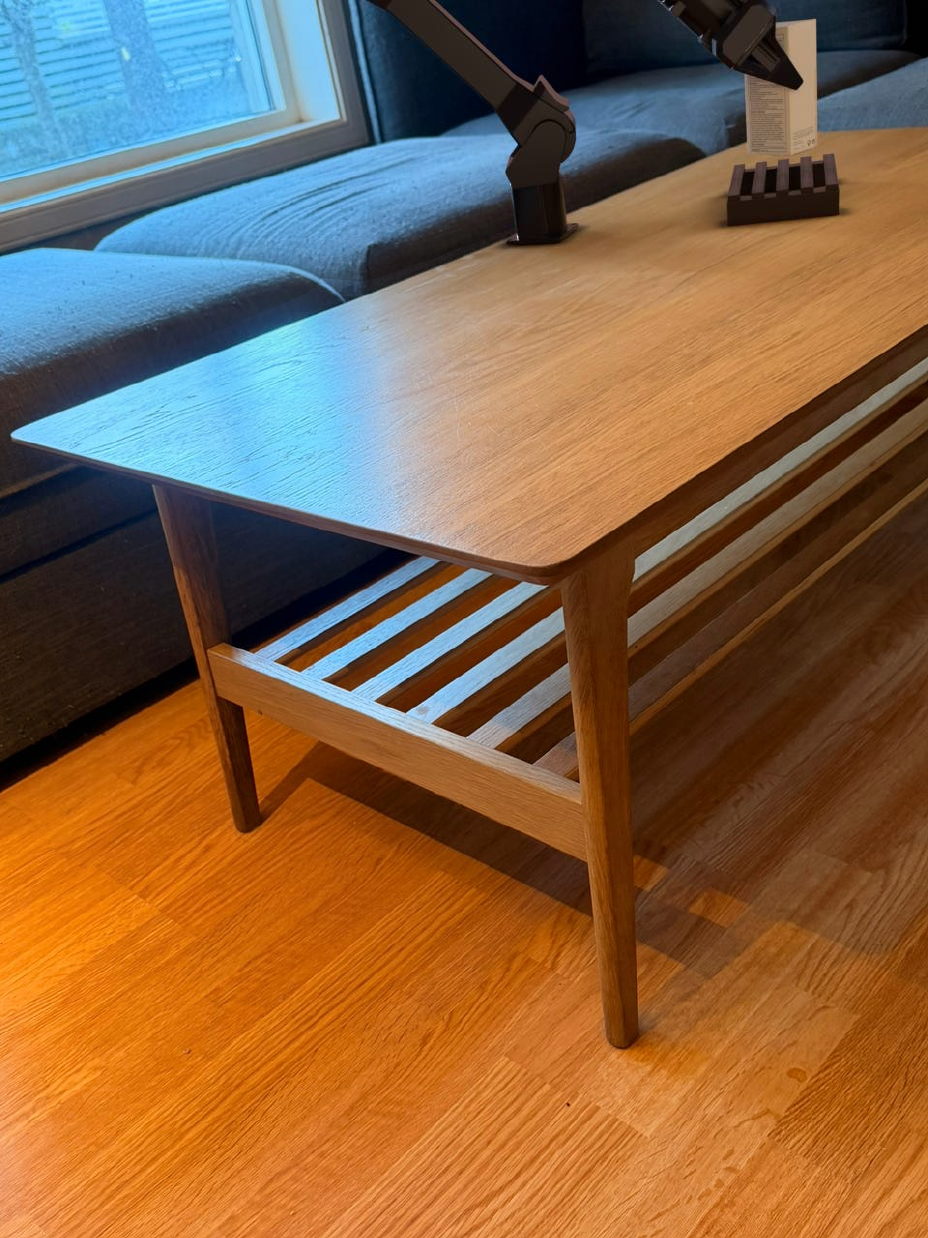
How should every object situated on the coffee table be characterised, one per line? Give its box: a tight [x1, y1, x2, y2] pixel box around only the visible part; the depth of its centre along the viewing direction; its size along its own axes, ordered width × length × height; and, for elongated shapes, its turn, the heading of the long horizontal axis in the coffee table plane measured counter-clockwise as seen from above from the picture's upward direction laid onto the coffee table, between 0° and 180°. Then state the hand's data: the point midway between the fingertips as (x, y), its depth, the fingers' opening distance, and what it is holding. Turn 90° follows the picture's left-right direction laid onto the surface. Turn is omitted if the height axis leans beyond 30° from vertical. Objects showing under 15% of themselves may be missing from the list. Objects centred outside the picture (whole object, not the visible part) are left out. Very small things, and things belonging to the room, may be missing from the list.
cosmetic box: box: [744, 18, 818, 157], centre depth 116 cm, size 6×4×12 cm
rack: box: [726, 152, 841, 227], centre depth 121 cm, size 16×11×3 cm
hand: (793, 81), depth 115 cm, fingers closed on cosmetic box, 7 cm apart
